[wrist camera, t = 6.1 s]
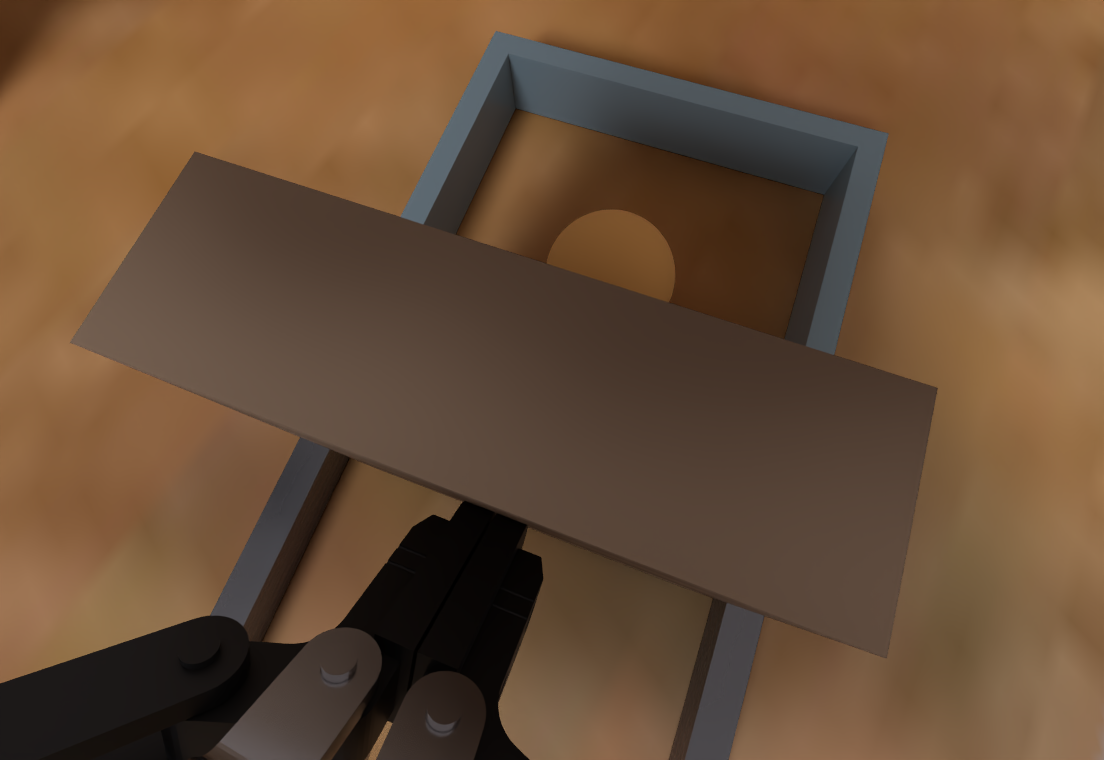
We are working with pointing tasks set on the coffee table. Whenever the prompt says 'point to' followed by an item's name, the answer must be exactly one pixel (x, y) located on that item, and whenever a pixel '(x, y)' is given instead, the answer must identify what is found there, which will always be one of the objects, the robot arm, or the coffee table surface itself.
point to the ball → (617, 252)
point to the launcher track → (297, 514)
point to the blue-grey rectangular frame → (677, 126)
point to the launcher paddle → (534, 394)
